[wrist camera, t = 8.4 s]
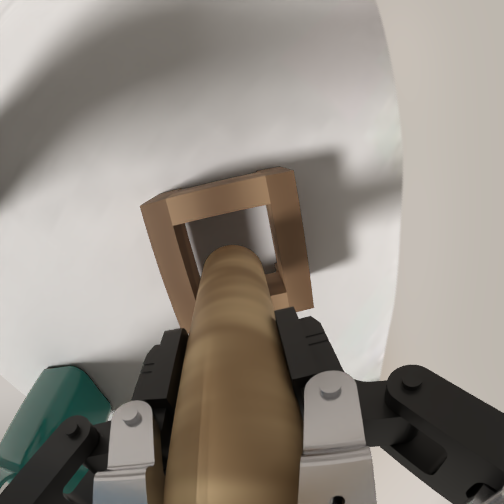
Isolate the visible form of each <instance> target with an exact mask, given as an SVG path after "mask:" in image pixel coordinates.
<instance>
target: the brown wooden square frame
mask: <svg viewBox="0 0 504 504" xmlns="http://www.w3.org/2000/svg"><path fill="white" fill-rule="evenodd" d="M256 172H257V173H252V174H247V175H242V176H238V177H233V178H229V179H224V180H220V181H215V182H211V183H207V184H203V185H199V186H194V187H190V188H186V189H183V190H182V189H181V188H180V189H176V190H173V191H169V192H165V193H161V194H159V195H157V196H155V197H154V198H152V199H150V200H149V201H147V202H145V203H144V204H142V205H141V206H140V208H141V212H142V216H143V219H144V222H145V226H146V229H147V233H148V236H149V239H150V242H151V246H152V249H153V252H154V255H155V258H156V261H157V264H158V267H159V270H160V273H161V276H162V279H163V282H164V285H165V288H166V290H167V293H168V296H169V299H170V301H171V304H172V307H173V309H174V312H175V315H176V317H177V320H178V322H179V325H180V328H185V329H186V331H187V333H188V334H189V331H190V327H191V322H192V317H193V312H194V307H195V303H196V298H197V293H198V289H199V284H200V280H201V279H200V275H199V272H198V269H197V265H196V262H195V258H194V255H193V251H192V248H191V244H190V241H189V237H188V234H187V230H186V226H185V223H187V222H191V221H195V220H199V219H203V218H208V217H212V216H217V215H221V214H225V213H230V212H234V211H239V210H244V209H248V208H253V207H258V206H262V205H266V207H267V212H268V218H269V223H270V228H271V233H272V238H273V244H274V249H275V254H276V260H277V263H274V264H275V269H276V272H274V273H270V274H265V278H266V281H267V285H268V289H269V293H270V296H271V300H272V304H273V308H274V311H275V310H279V309H284V308H288V307H292V306H294V308H295V311H296V312H299V311H303V310H307V309H311V308H314V305H313V296H312V288H311V280H310V272H309V265H308V257H307V250H306V243H305V236H304V230H303V223H302V217H301V211H300V205H299V199H298V193H297V187H296V181H295V176H294V170H290V169H287V168H283V167H274V168H269V169H264V170H259V171H256Z"/></svg>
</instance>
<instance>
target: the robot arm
mask: <svg viewBox="0 0 504 504" xmlns="http://www.w3.org/2000/svg"><path fill="white" fill-rule="evenodd" d="M274 314H275V319H276V324H277V328H278V331H279V335H280V339H281V343H282V347H283V351H284V355H285V359H286V363H287V366H288V370H289V374H290V378H291V382H292V386H293V390H294V394H295V397H296V398H297V400H298V403H299V407H300V411H301V415H302V418H303V422H304V441H303V453H302V454H301V460H300V476H299V492H298V504H377V502H376V491H375V481H374V472H373V464H372V456H371V451H370V447H374V446H380V447H381V448H382V449H384V451H386V452H387V453H388V454H389V455H391V456H392V457H393V458H394V459H395V460H397V461H398V462H399V463H400V464H401V465H403V466H404V467H405V468H407V469H408V470H409V471H410V472H412V473H413V474H414V475H415V476H417V477H418V478H419V479H420V480H422V481H423V482H424V483H426V484H427V485H428V486H429V487H431V488H432V489H433V490H435V491H436V492H437V493H439V494H440V495H441V496H443V497H445V498H446V499H447V500H448V501H450V502H451V503H453V504H504V413H502V412H501V411H498V410H497V409H495V408H494V407H492V406H490V405H488V404H487V403H485V402H483V401H482V400H480V399H478V398H476V397H475V396H473V395H471V394H469V393H468V392H466V391H464V390H462V389H461V388H459V387H457V386H456V385H454V384H452V383H451V382H449V381H447V380H445V379H444V378H442V377H440V376H439V375H437V374H435V373H434V372H432V371H430V370H428V369H427V368H425V367H422V366H419V365H406V366H402V367H400V368H397V369H396V370H394V371H393V372H392V373H391V374H390V376H389V378H388V380H387V381H375V382H363V381H358V380H355V379H353V378H352V377H351V376H350V375H349V374H347V373H345V372H344V371H343V369H342V367H341V365H340V363H339V360H338V358H337V356H336V354H335V352H334V350H333V348H332V346H331V344H330V342H329V340H328V338H327V336H326V334H325V331H324V329H323V327H322V325H321V323H320V322H319V321H317V320H316V319H314V318H313V317H311V316H309V317H305V318H301V319H298V316H297V314H296V311H295V308H294V306H292V307H288V308H284V309H279V310H275V311H274ZM187 341H188V333H187V331H186V329H185V328H180V329H174V330H168V331H165V332H164V334H163V337H162V340H161V343H160V345H155V346H154V347H153V348H152V349H151V350H150V351H149V353H148V354H147V355H146V358H145V361H144V366H143V367H142V370H141V374H140V376H139V379H138V382H137V385H136V388H135V391H134V394H133V397H132V400H131V401H130V402H127V403H125V404H123V405H121V406H120V407H119V408H118V409H117V410H116V411H115V412H114V414H113V416H112V420H111V421H107V422H103V423H99V424H95V425H92V424H91V423H90V421H89V420H88V419H87V418H86V417H84V416H81V415H75V416H71V417H69V418H67V419H66V420H64V421H63V422H62V423H61V424H60V426H59V427H58V428H57V429H56V430H55V431H54V432H53V433H52V435H51V436H50V437H49V438H48V439H47V440H46V441H45V443H44V444H43V445H42V446H41V447H40V448H39V449H38V451H37V452H36V453H35V454H34V455H33V456H32V457H31V459H30V460H29V461H28V462H27V463H26V464H25V466H24V467H23V468H22V469H21V470H20V471H19V473H18V474H17V475H16V476H15V477H14V479H13V480H12V481H11V482H10V483H9V484H8V486H7V487H6V488H5V489H4V490H3V492H2V493H1V494H0V504H163V501H164V484H165V476H166V468H167V460H168V453H169V446H170V439H171V433H172V426H173V420H174V414H175V408H176V402H177V396H178V390H179V384H180V379H181V373H182V368H183V362H184V357H185V352H186V347H187ZM81 465H83V466H85V467H86V468H87V469H88V470H89V471H88V472H87V473H86V475H85V476H84V477H83V478H82V480H81V481H80V482H79V484H78V485H77V486H76V488H75V489H74V490H73V491H72V492H71V493H69V494H64V493H63V489H64V487H65V486H66V484H67V483H68V482H69V481H70V479H71V478H72V477H73V475H74V474H75V473H76V472H77V470H78V469H79V468H80V466H81Z"/></svg>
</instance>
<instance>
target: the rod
mask: <svg viewBox="0 0 504 504" xmlns="http://www.w3.org/2000/svg"><path fill="white" fill-rule="evenodd" d="M303 441H304V422H303V418H302V415H301V411H300V407H299V403H298V400H297V398H296V397H295V394H294V390H293V386H292V382H291V378H290V374H289V370H288V366H287V363H286V359H285V355H284V351H283V347H282V343H281V339H280V335H279V331H278V328H277V324H276V319H275V314H274V308H273V304H272V300H271V296H270V293H269V289H268V285H267V281H266V278H265V274H264V270H263V267H262V263H261V261H260V259H259V258H258V256H257V255H256V254H255V253H254V252H253V251H251V250H250V249H248V248H246V247H243V246H239V245H227V246H223V247H220V248H218V249H216V250H215V251H213V252H212V253H211V254H210V255H209V256H208V258H207V259H206V261H205V263H204V267H203V271H202V275H201V280H200V284H199V289H198V293H197V298H196V303H195V307H194V312H193V317H192V322H191V327H190V331H189V336H188V341H187V347H186V352H185V357H184V362H183V368H182V373H181V379H180V384H179V390H178V396H177V402H176V408H175V414H174V420H173V426H172V433H171V439H170V446H169V453H168V460H167V468H166V476H165V484H164V501H163V504H298V492H299V476H300V460H301V454H302V453H303Z"/></svg>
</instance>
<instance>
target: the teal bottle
mask: <svg viewBox="0 0 504 504" xmlns="http://www.w3.org/2000/svg"><path fill="white" fill-rule="evenodd" d="M110 412H111V405H110V403H109V402H108V400H107V399H106V398H105V397H104V395H103V394H102V393H101V392H100V390H99V389H98V388H97V387H96V385H95V384H94V383H93V381H92V380H91V379H90V377H89V376H88V375H87V374H86V373H85V372H84V371H83V370H81V369H79V368H77V367H74V366H66V367H57V368H49V369H44V370H43V372H42V373H41V375H40V376H39V378H38V379H37V381H36V382H35V384H34V385H33V387H32V389H31V390H30V392H29V393H28V395H27V397H26V398H25V400H24V401H23V403H22V405H21V407H20V408H19V410H18V412H17V413H16V415H15V417H14V419H13V420H12V422H11V424H10V426H9V427H8V429H7V431H6V433H5V435H4V437H3V439H2V441H1V442H0V488H1V487H2V485H3V484H4V483H5V482H7V483H8V484H9V483H10V482H11V481H12V480H13V479H14V477H15V476H16V475H17V474H18V473H19V471H20V470H21V469H22V468H23V467H24V466H25V464H26V463H27V462H28V461H29V460H30V459H31V457H32V456H33V455H34V454H35V453H36V452H37V451H38V449H39V448H40V447H41V446H42V445H43V444H44V443H45V441H46V440H47V439H48V438H49V437H50V436H51V435H52V433H53V432H54V431H55V430H56V429H57V428H58V427H59V426H60V424H61V423H62V422H63V421H64V420H66V419H67V418H69V417H71V416H75V415H81V416H84V417H86V418H87V419H88V420H89V421H90V423H91V424H92V425H95V424H99V423H103V422H107V421H108V418H109V415H110ZM88 471H89V470H88V469H87V468H86V467H85V466H83V465H81V466H80V468H79V469H78V470H77V472H76V473H75V474H74V475H73V477H72V478H71V479H70V481H69V482H68V483H67V484H66V486H65V487H64V489H63V493H64V494H69V493H71V492H72V491H73V490H74V489H75V488H76V486H77V485H78V484H79V482H80V481H81V480H82V478H83V477H84V476H85V475H86V473H87V472H88Z"/></svg>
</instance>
